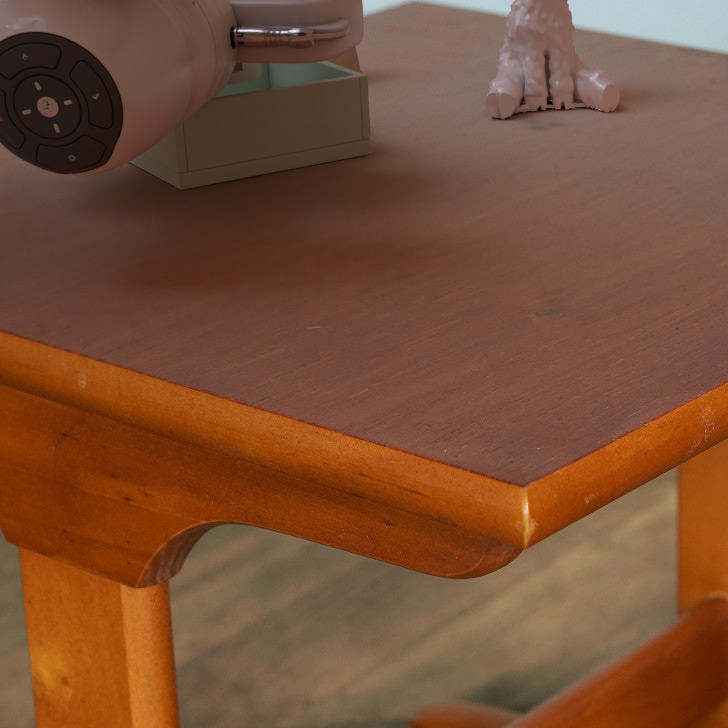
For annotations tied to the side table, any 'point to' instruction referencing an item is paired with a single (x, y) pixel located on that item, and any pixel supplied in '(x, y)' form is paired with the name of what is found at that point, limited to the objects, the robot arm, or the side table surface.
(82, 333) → the side table surface
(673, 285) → the side table surface
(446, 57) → the side table surface
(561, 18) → the white creature statuette
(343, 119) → the open storage bin
